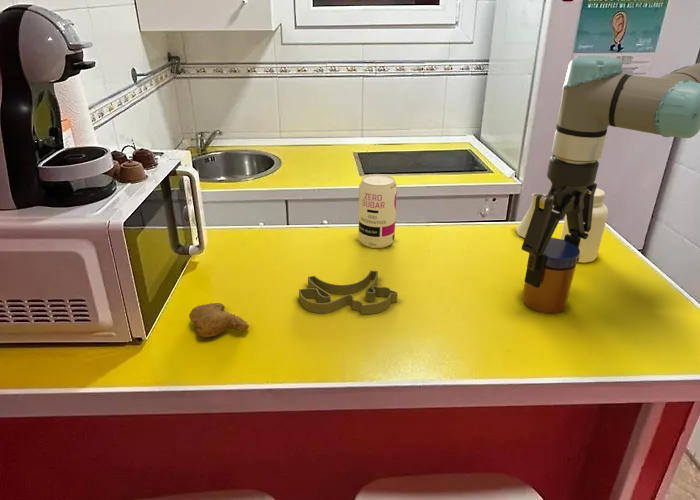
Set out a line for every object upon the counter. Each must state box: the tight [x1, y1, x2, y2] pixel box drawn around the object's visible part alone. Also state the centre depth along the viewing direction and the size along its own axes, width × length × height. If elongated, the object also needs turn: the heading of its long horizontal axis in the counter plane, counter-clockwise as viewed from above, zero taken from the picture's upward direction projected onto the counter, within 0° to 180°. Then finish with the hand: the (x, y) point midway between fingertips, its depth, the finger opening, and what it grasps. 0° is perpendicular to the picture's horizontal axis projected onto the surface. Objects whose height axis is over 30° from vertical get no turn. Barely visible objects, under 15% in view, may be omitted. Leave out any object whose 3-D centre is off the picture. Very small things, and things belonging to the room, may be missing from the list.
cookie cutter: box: [298, 270, 398, 316], centre depth 98 cm, size 18×12×2 cm, turn 100°
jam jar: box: [521, 264, 577, 315], centre depth 95 cm, size 8×8×10 cm
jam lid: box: [544, 237, 580, 268], centre depth 93 cm, size 8×8×2 cm
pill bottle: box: [560, 187, 609, 264], centre depth 111 cm, size 8×8×15 cm
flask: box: [515, 192, 547, 239], centre depth 121 cm, size 7×7×10 cm
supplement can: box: [357, 173, 398, 249], centre depth 116 cm, size 8×8×15 cm
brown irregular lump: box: [188, 302, 250, 338], centre depth 90 cm, size 10×10×4 cm
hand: (549, 275), depth 95 cm, fingers open, 9 cm apart
